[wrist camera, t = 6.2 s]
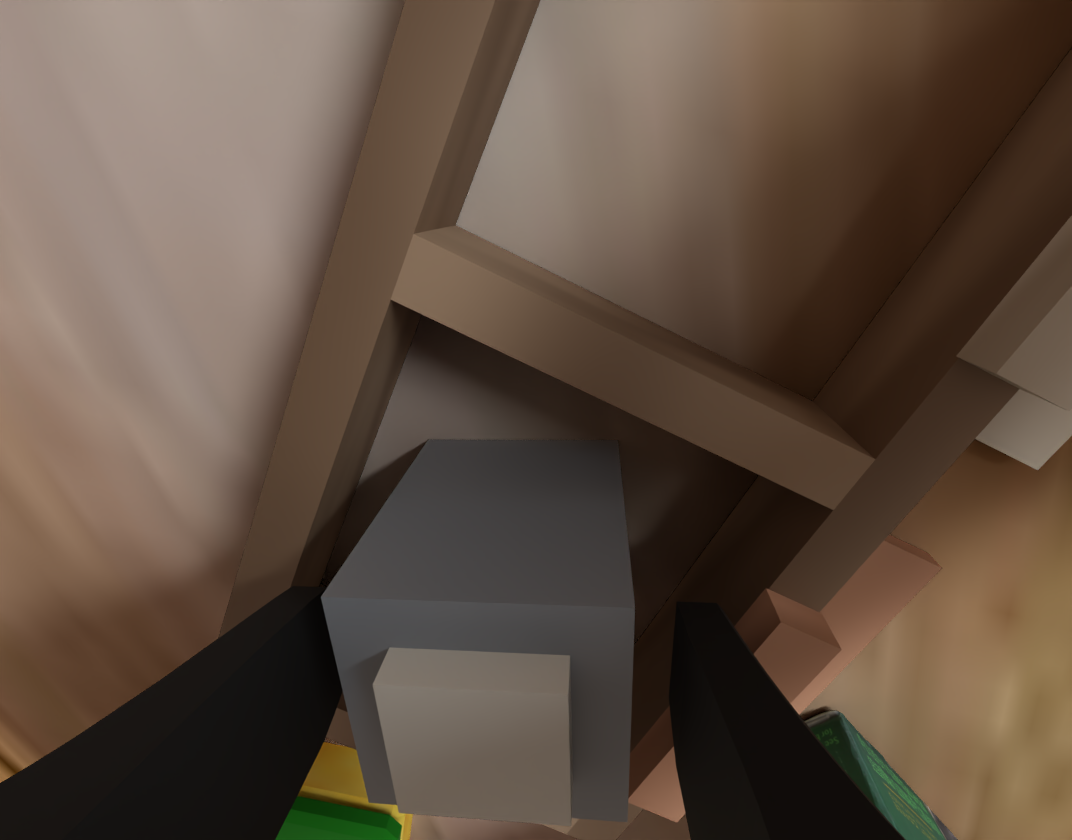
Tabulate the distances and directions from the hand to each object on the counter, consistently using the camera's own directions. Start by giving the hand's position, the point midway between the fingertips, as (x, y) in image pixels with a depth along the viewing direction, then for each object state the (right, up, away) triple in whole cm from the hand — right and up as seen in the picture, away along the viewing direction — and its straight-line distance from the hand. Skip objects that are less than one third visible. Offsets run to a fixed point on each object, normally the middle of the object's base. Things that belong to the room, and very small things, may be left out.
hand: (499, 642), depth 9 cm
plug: (0, +1, +3) cm, 4 cm away
